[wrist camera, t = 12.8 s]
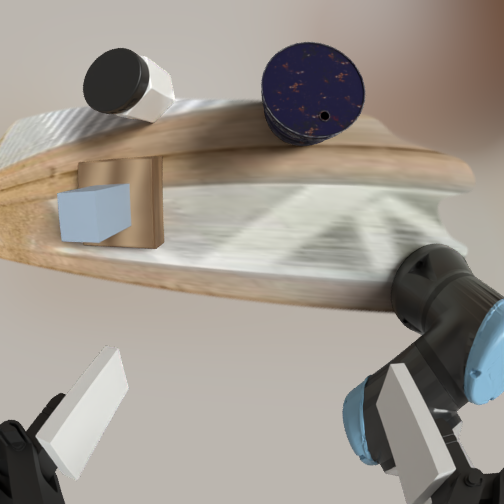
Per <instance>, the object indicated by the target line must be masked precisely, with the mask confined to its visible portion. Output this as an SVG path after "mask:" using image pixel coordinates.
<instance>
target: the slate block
mask: <svg viewBox="0 0 504 504" xmlns="http://www.w3.org/2000/svg"><path fill="white" fill-rule="evenodd" d="M57 196H58V210H59V221H60V230H61V238H62V241H67V242H93V243H99V242H101V241H103V240H105V239H107V238H109V237H111V236H113V235H115V234H116V233H118V232H120V231H122V230H124V229H126V228H128V227H130V226H131V210H130V185H129V184H109V185H94V186H89V187H84V188H79V189H75V190H70V191H66V192H61V193H57Z"/></svg>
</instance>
